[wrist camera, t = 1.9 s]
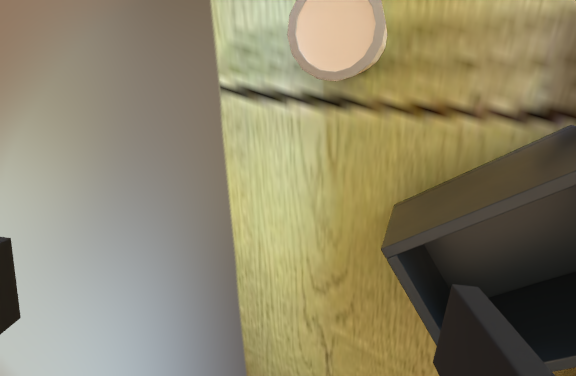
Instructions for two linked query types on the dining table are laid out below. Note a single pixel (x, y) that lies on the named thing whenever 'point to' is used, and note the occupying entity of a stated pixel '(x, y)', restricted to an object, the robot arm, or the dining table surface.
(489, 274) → the chest
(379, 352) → the dining table surface
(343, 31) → the cream tapered cup
